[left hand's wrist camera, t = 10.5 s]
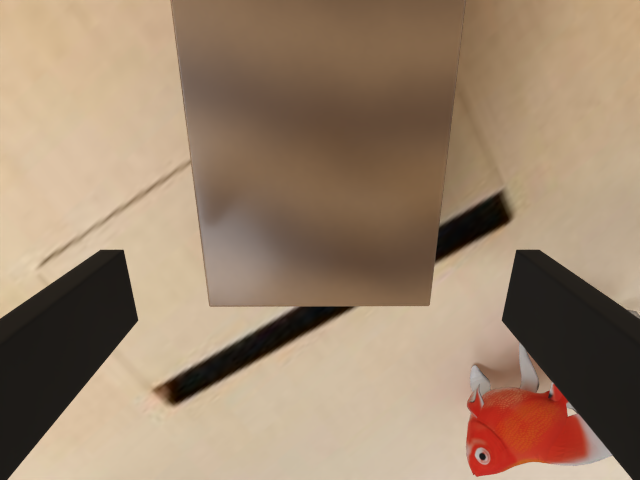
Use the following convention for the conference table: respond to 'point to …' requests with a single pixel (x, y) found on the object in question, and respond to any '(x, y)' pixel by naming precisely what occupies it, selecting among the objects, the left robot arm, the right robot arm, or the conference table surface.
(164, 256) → the conference table surface
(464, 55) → the conference table surface
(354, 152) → the cabinet
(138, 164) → the conference table surface
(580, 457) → the fish
